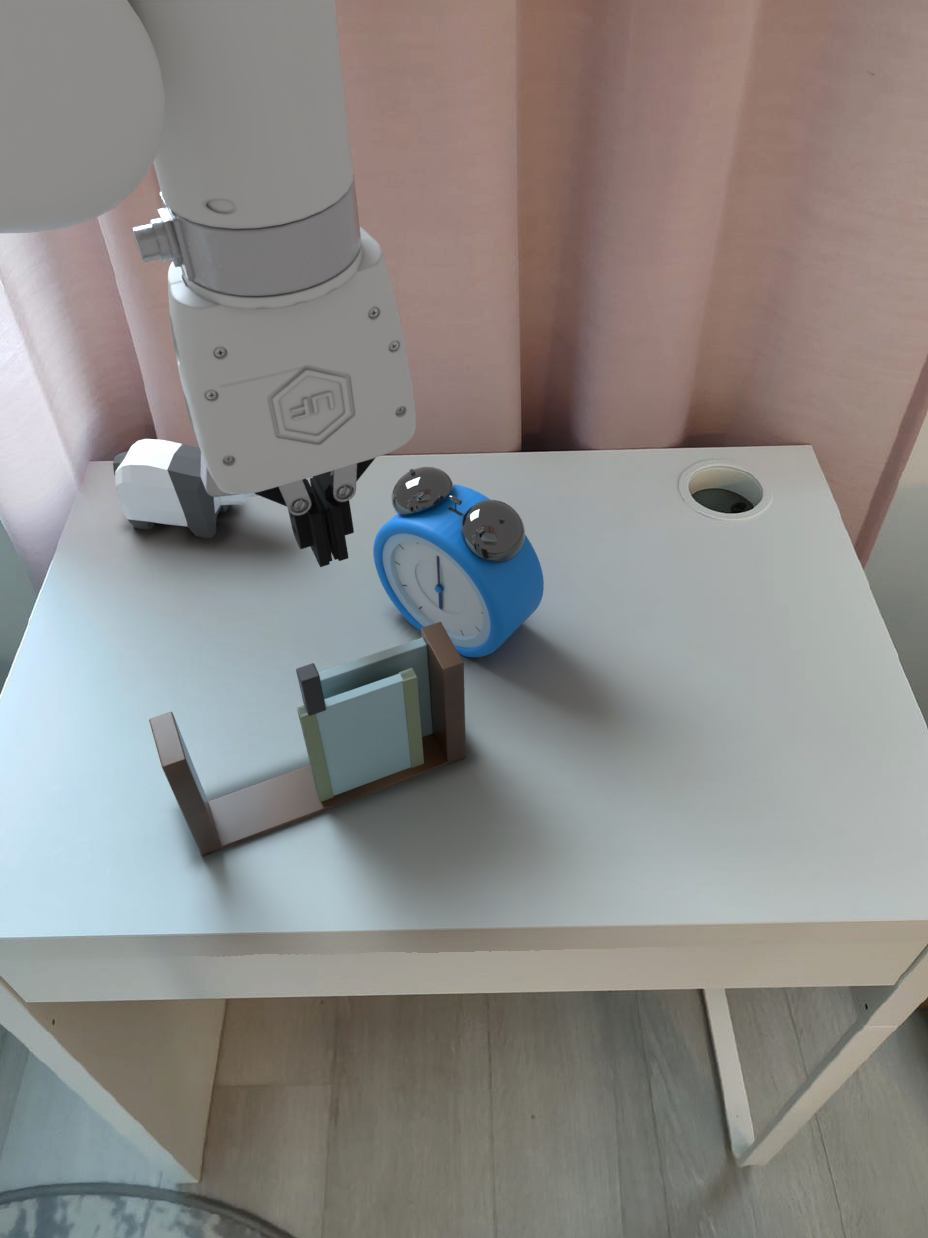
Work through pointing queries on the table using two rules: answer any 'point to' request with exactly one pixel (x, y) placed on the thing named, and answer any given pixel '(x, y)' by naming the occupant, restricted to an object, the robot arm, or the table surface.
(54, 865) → the table surface
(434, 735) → the window frame
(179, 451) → the giant panda
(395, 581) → the alarm clock
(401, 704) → the pane
